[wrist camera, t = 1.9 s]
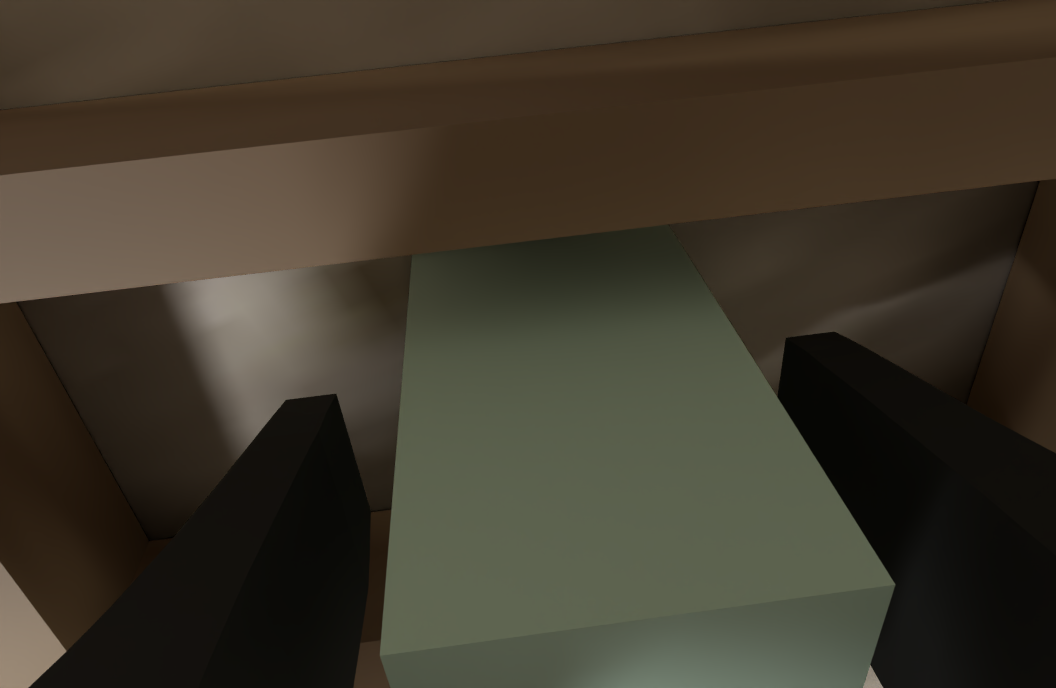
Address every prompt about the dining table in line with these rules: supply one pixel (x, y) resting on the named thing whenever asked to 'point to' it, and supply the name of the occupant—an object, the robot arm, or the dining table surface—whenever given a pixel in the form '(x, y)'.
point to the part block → (608, 487)
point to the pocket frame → (484, 215)
